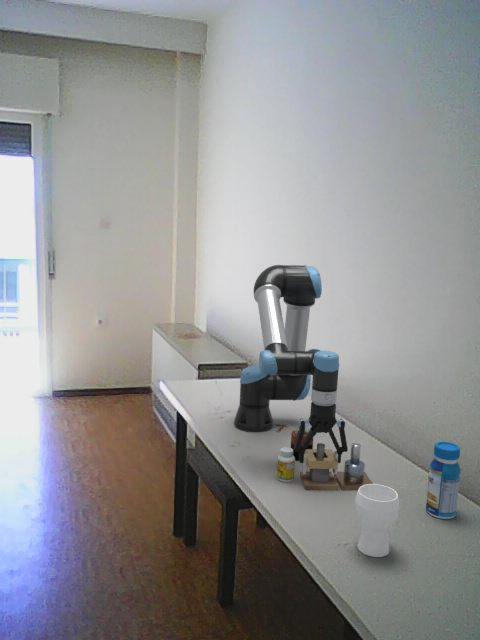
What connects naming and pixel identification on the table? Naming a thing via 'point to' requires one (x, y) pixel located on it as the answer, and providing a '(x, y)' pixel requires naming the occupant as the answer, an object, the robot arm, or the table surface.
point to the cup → (376, 517)
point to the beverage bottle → (444, 481)
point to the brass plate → (321, 460)
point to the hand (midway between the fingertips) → (319, 472)
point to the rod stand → (319, 475)
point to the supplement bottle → (286, 465)
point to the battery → (293, 438)
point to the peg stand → (353, 471)
